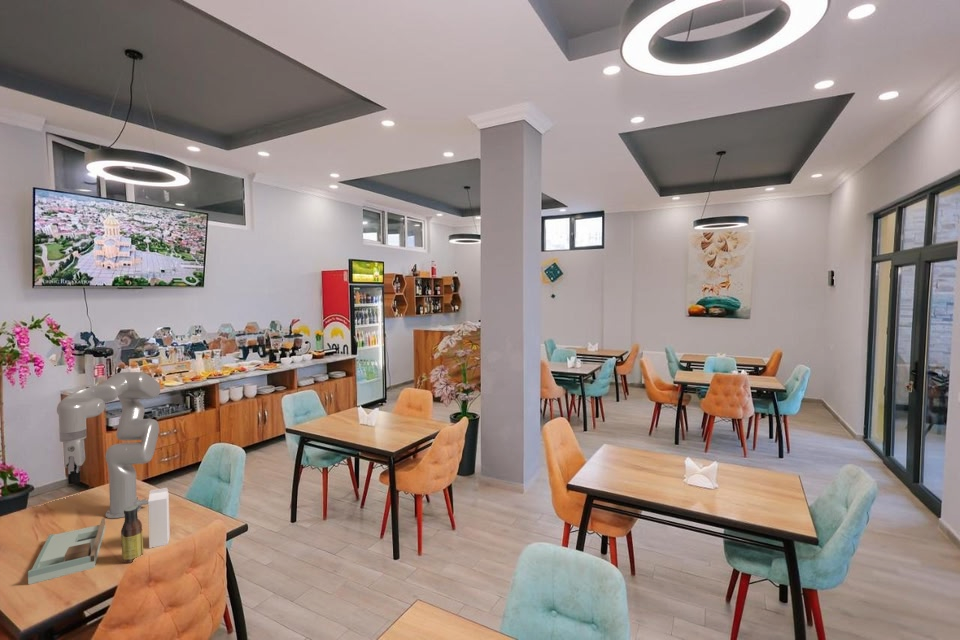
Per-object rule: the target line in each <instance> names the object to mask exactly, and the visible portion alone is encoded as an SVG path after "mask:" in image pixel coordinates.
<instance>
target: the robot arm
mask: <svg viewBox="0 0 960 640" xmlns="http://www.w3.org/2000/svg"><path fill="white" fill-rule="evenodd" d="M161 390H162V389H161V384H160V382H158V381H157V380H156V379H155V378H154V377H152V376H151V375H150V374H148V373H146V372H143V371H137V372H136V371H132V372H131V371H127V372H123V371H122V372H117V373H115V374H113V375H112V376H110V377H109V378H107V379H105V380H104V381H102V382H101V383H100V384H97V385H93V386H90V387H86V388H83V389H80V390H76V391H74V392H72V393H69V394H68V395H67V396H65V397H64V398H62V399H61V400H60V401H59V403H58V404H57V406H56V413H57V415H58V426H59V427H58V430H59V442H61V443H63V464H64V465H63V466H64V468H65V469H67V468H68V470H67V471H68V473H67V475H68V476H67V477H68V480H67V481H68V485H73V484H78V483H80V482H81V466H82V465H84V463H85V461H86V451H85V439H87V419H90V418H94V417H97V416H98V417H99V415H101V414H102V413H104V411H105V409H106V403H110V402H112V401H115V400H116V399H117V398H118V400H119V402H120V405H121V413H120V418H119V422H118V425H117V428H116V429H117V430H116V433H115V434H116V438H117V439H118V440H119V441H122V442H121V443H115V444H112V445H111V446H109V447H108V448H107V450H106V452H105V461H106V464H107V470H108V482H109V484H108V485H109V509H108V510H107V511H106V512H105V518H108V519H120V518H125V514H124V509H125V508H127V507H130V506H137V507H138V511H137V513H138V512H139V511H140V510H141V508H142V506H144V505H148V500H149V499H146V498H144V499H139V497H137V471H136V468H135V467H134V465H140V464H147V463H150V461H151V460H152V459H153V457H154V454H155V450H156V445H157V442H158V436H159V433H160V425H159V422H158V420H157V419H154V418H144V416H145V406H144V405H143V404H142V403H141V402H140V400H151V399H155V398H157V397H158V396H159V395H160V393H161ZM123 441H124V442H123ZM125 441H129V442H125ZM130 441H139V442H130ZM140 441H141V442H140Z"/></svg>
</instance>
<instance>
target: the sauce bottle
mask: <svg viewBox="0 0 960 640" xmlns="http://www.w3.org/2000/svg"><path fill="white" fill-rule="evenodd" d="M137 511H138V507H137V506H130V507H127V508H125V509H124V514H125V517H124V522H123V525H122V527H121V531H120V538H121V541H120V542H121V556H122V558H121V559H122V561H123V563H125V564H128V563H129V564H130V563H133V562H132V561H133V560H134V559H135V558H137V557H139V556H141V555H143V556H144V535H143V524H142V521H141V520H140V519H139V518H138V517H139V516H138V512H139V511H138V512H137Z"/></svg>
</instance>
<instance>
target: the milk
mask: <svg viewBox="0 0 960 640" xmlns="http://www.w3.org/2000/svg"><path fill="white" fill-rule="evenodd" d="M169 496H170V494H169V490H168V487H163V488H158V489H151V490H149V493H148V499H147V500H148V504H147V505H148V506H147V507H148V548H149V549H153V548H152V547H154V548H158V547H162V546H167V545H169V541H170V535H171V534H170V501H169V500H170V497H169Z"/></svg>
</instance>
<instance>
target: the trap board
mask: <svg viewBox="0 0 960 640" xmlns="http://www.w3.org/2000/svg"><path fill="white" fill-rule="evenodd" d="M105 531H106V517H103V518H101V520H100V523H99V524H98V525H93V526H87V527H84V528H80V529H74V530H70V531H64V532H59V533H56V534H54V533H50V534H49V535H48V536H47V539H46V541H45V542H44V544H43V546H42V547H41V550H40V552H39V554H38V556H37V558H36V560H35V562H34V564H33V566H32V568H31V569H29V570H28V571H27V581H28V586H29V585H32V584H38V583H40V582H45V581H47V580H48V581H49V580H51V579H52V580H53V579H56V578H61V577H64V576H68V575H72V574H75V573H76V574H77V573H80V572H83V571H88V570H91V569H95V568H96V565H97V564H96V563H97V559H98V557H99V553H100V549H101V546H102V542H103V539H104V536H105V533H106V532H105ZM90 542H91V554H90V556H86V557H82V558H78V559H74V560H69V561H65V554H66V552H67V550H68V548H69V547H72V546H76V545H81V544H86V543H90Z"/></svg>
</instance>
